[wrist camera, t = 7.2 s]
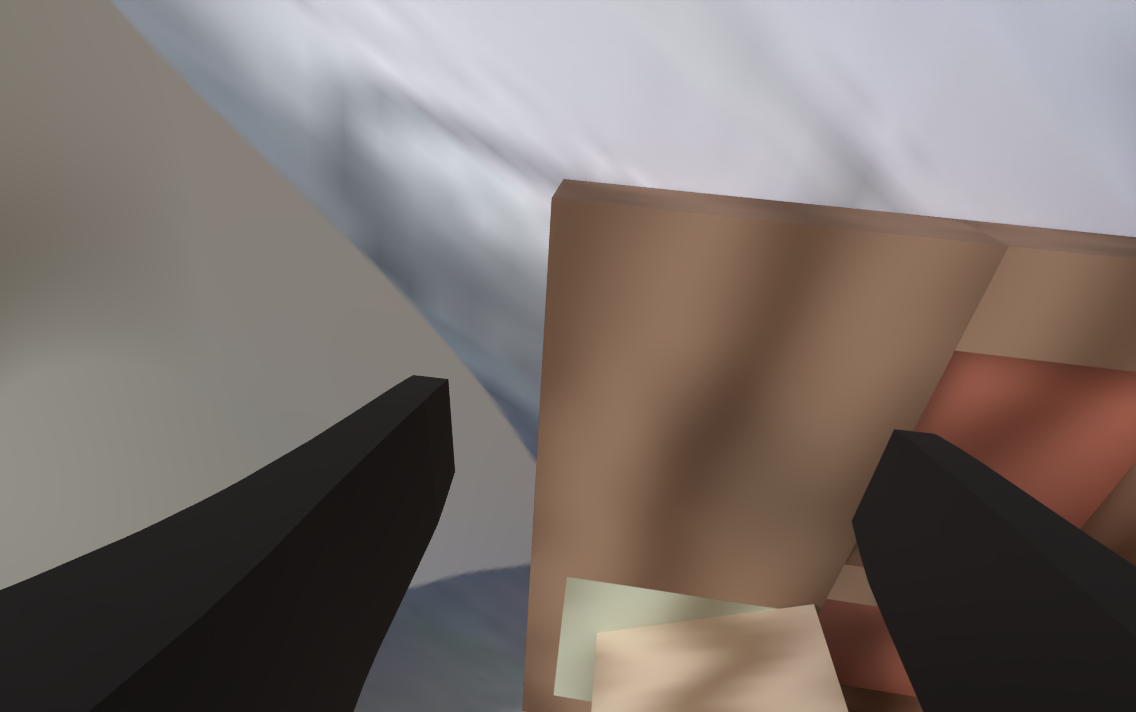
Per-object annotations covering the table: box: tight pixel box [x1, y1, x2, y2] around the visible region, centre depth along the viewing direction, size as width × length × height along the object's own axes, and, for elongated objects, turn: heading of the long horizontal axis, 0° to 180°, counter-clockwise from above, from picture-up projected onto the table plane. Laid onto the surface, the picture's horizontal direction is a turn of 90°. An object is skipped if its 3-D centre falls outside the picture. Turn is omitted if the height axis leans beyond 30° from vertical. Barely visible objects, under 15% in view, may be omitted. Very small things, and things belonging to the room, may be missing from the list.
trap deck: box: [522, 179, 1136, 712], centre depth 21 cm, size 21×26×2 cm
